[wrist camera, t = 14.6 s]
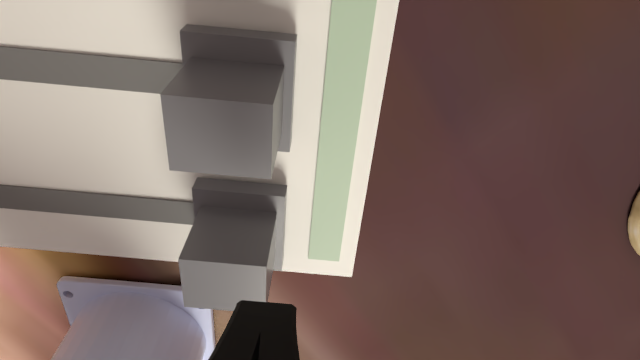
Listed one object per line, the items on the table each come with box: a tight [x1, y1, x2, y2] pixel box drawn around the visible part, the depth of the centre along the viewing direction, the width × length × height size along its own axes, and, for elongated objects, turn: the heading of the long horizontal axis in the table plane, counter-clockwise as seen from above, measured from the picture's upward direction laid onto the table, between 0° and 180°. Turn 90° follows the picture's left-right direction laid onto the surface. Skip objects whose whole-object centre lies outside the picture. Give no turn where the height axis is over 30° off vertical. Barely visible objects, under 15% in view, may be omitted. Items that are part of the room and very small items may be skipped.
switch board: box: [0, 0, 399, 277], centre depth 17 cm, size 18×26×2 cm
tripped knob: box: [160, 24, 297, 179], centre depth 14 cm, size 4×4×4 cm
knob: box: [178, 177, 287, 311], centre depth 18 cm, size 4×4×4 cm
